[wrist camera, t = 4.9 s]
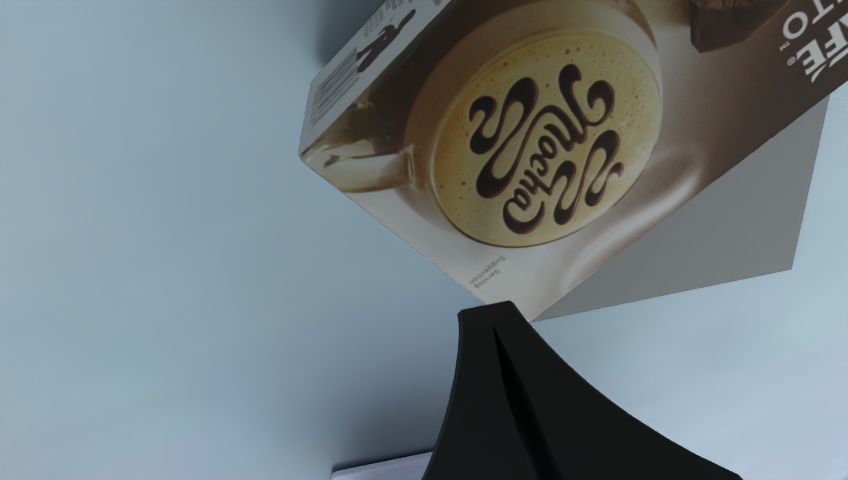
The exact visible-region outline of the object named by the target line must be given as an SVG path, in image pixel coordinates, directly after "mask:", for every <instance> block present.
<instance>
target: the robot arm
mask: <svg viewBox="0 0 848 480" xmlns="http://www.w3.org/2000/svg"><path fill="white" fill-rule="evenodd" d="M457 316H458V322H459V343H458V354H457V361H456V368H455V375H454V380H453V385H452V389H451V394H450V398H449V403H448V406H447V410H446V414H445V417H444V421H443V424H442V427H441V430H440V433H439V436H438V439H437V442H436V445H435V447H434V450H433V452H428V453H423V454H418V455H413V456H408V457H403V458H398V459H393V460H389V461H384V462H379V463H374V464H369V465H364V466H359V467H354V468H349V469H344V470H339V471H336V472H334V473H333V474H332V475H331V480H743V479H742V478H741V477H740V476H739V475H738V474H736V473H734V472H732V471H729V470H727V469H725V468H723V467H721V466H719V465H717V464H715V463H713V462H711V461H709V460H707V459H705V458H702V457H700V456H698V455H696V454H694V453H692V452H691V451H689V450H687V449H685V448H684V447H682V446H680V445H678V444H676V443H675V442H673V441H671V440H669V439H668V438H666V437H664V436H663V435H661V434H660V433H658V432H657V431H655V430H653V429H652V428H650V427H649V426H647V425H645V424H644V423H642V422H641V421H639V420H638V419H636V418H634V417H633V416H631V415H630V414H629V413H627V412H626V411H624V410H623V409H622V408H620V407H619V406H617V405H616V404H615V403H613V402H612V401H611V400H609V399H608V398H607V397H605V396H604V395H603V394H602V393H600V392H599V391H598V390H597V389H595V388H594V387H593V386H592V385H590V384H589V383H588V382H587V381H586V380H585V379H583V378H582V377H581V376H580V375H579V374H578V373H577V372H576V371H575V370H573V369H572V368H571V367H570V366H569V365H568V364H567V363H566V362H565V361H564V360H563V359H562V358H561V357H560V356H559V355H558V354H557V353H556V352H555V351H554V350H553V349H552V348H551V347H550V346H549V345H548V344H547V343H546V342H545V341H544V340H543V339H542V337H541V336H540V335H539V334H538V333H537V332H536V331H535V330H534V328H533V327H532V326H531V325H530V324H529V322H528V321H527V320H526V319H525V318H524V316H523V315H522V314H521V312H520V311H519V310H518V308H517V307H516V305H515V304H514V303H513V302H512V301H510V300H507V301H503V302H498V303H493V304H488V305H483V306H478V307H474V308H469V309H464V310H461V311H460V312H459V313H458V314H457Z"/></svg>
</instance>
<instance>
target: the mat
mask: <svg viewBox="0 0 848 480" xmlns="http://www.w3.org/2000/svg"><path fill="white" fill-rule="evenodd" d="M829 96H830V94H829V95H828V96H827V97H825V98H824V99H823V100H821V101H820V102H819V103H817V104H816V105H815V106H813V107H812V108H811V109H809V110H808V111H807V112H805V113H804V114H803V115H802V116H800V117H799V118H798V119H796V120H795V121H794V122H792V123H791V124H790V125H789V126H788V127H787V128H785V129H784V130H782V131H781V132H779V133H778V134H777V135H776V136H774V137H773V138H771V139H769V140H768V141H767V142H766V143H764V144H763V145H762V146H761V147H760V148H759V149H757V150H756V151H755V152H753V153H752V154H750V155H749V156H748V157H746V158H745V159H744V160H743V161H741V162H740V163H739V164H737V165H736V166H735V167H733V168H732V169H731V170H729V171H728V172H727V173H725V174H724V175H723V176H721V177H720V178H719V179H717V180H716V181H714V182H713V183H711V184H710V185H709V186H707V187H706V188H705V189H704V190H702V191H701V192H700V193H699V194H697V195H696V196H695V197H693V198H692V199H691V200H689V201H688V202H687V203H685V204H684V205H683V206H682V207H680V208H679V209H678V210H676V211H675V212H674V213H672V214H671V215H670V216H668V217H667V218H666V219H664V220H663V221H662V222H661V223H659V224H658V225H657V226H655V227H654V228H653V229H652V230H650V231H649V232H647V233H646V234H644V235H643V236H642V237H641V238H639V239H638V240H637V241H636V242H634V243H633V244H632V245H630V246H629V247H628V248H627V249H625V250H624V251H622V252H621V253H620V254H618V255H617V256H616V257H614V258H613V259H611V260H610V261H609V262H608V263H606V264H605V265H604V266H602V267H601V268H600V269H598V270H597V271H596V272H594V273H593V274H592V275H590V276H589V277H588V278H587V279H585V280H584V281H583V282H581V283H580V284H579V285H577V286H576V287H575V288H573V289H572V290H571V291H569V292H568V293H567V294H566V295H564V296H563V297H562V298H560V299H559V300H558V301H556V302H555V303H554V304H553V305H551V306H550V307H548V308H547V309H546V310H544V311H543V312H542V313H541V314H539V315H538V316H537V317H536V318H534V319H533V320H532V321H531V322H536V321H540V320H545V319H550V318H555V317H560V316H565V315H570V314H575V313H580V312H585V311H590V310H594V309H599V308H604V307H609V306H614V305H619V304H624V303H629V302H634V301H639V300H643V299H648V298H653V297H658V296H663V295H668V294H673V293H678V292H683V291H688V290H693V289H697V288H702V287H707V286H712V285H717V284H722V283H727V282H732V281H737V280H742V279H747V278H751V277H756V276H761V275H766V274H771V273H776V272H781V271H786V270H791V269H792V264H793V260H794V255H795V251H796V246H797V242H798V237H799V233H800V228H801V224H802V219H803V215H804V210H805V205H806V201H807V196H808V192H809V187H810V183H811V178H812V174H813V169H814V165H815V160H816V155H817V151H818V146H819V142H820V137H821V133H822V128H823V124H824V119H825V115H826V110H827V106H828V101H829ZM531 322H529V323H531Z"/></svg>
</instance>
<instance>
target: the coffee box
mask: <svg viewBox="0 0 848 480" xmlns="http://www.w3.org/2000/svg"><path fill="white" fill-rule="evenodd" d="M846 81H848V0H386V1H385V3H384V4H383V5H382V6H381V7H380V8H379V9H378V10H377V11H376V12H375V13H374V15H373V16H372V17H371V18H370V19H369V20H368V21H367V22H366V23H365V24H364V25H363V27H362V28H361V29H360V30H359V31H358V32H357V33H356V34H355V35H354V36H353V37H352V38H351V39H350V40H349V41H348V42H347V43H346V44H345V46H344V47H343V48H342V49H341V50H340V51H339V52H338V53H337V54H336V55H335V56H334V57H333V58H332V60H331V61H330V62H329V63H328V64H327V65H326V66H325V67H324V68H323V69H322V70H321V71H320V72H319V74H318V75H317V76H316V77H315V78H314V79H313V81H312V82H311V85H310V90H309V95H308V101H307V106H306V111H305V116H304V121H303V128H302V132H301V137H300V143H299V148H298V155H299V157H300V158H301V160H302V161H303V162H304V163H305V164H306V165H307V166H308V167H310V168H311V169H312V170H314V171H315V172H316V173H317V174H319V175H320V176H321V177H323V178H324V179H325V180H327V181H328V182H329V183H331V184H332V185H333V186H334V187H336V188H337V189H338V190H340V191H341V192H342V193H343V194H345V195H346V196H347V197H349V198H350V199H351V200H352V201H354V202H355V203H356V204H357V205H359V206H360V207H361V208H363V209H364V210H365V211H366V212H368V213H369V214H370V215H372V216H373V217H374V218H375V219H377V220H378V221H379V222H381V223H382V224H383V225H384V226H386V227H387V228H388V229H390V230H391V231H392V232H393V233H395V234H396V235H397V236H399V237H400V238H401V239H403V240H404V241H405V242H406V243H408V244H409V245H410V246H412V247H413V248H414V249H416V250H417V251H418V252H419V253H421V254H422V255H423V256H424V257H426V258H427V259H428V260H430V261H431V262H432V263H433V264H435V265H436V266H437V267H438V268H440V269H441V270H442V271H444V272H445V273H446V274H447V275H449V276H450V277H451V278H452V279H454V280H455V281H456V282H457V283H459V284H460V285H461V286H463V287H464V288H465V289H466V290H468V291H469V292H470V293H471V294H473V295H474V296H475V297H476V298H478V299H479V300H480V301H482V302H483V303H484V304H485V305H488V304H493V303H498V302H503V301H507V300H510V301H512V302H513V303H514V304H515V305H516V307H517V308H518V310H519V311H520V312H521V314H522V315H523V316H524V318H525V319H526V320H527V321H528V322H531V321H532V320H533V319H534V318H536V317H537V316H538V315H539V314H541V313H542V312H543V311H544V310H546V309H547V308H548V307H550V306H551V305H553V304H554V303H555V302H556V301H558V300H559V299H560V298H562V297H563V296H564V295H566V294H567V293H568V292H569V291H571V290H572V289H573V288H575V287H576V286H577V285H579V284H580V283H581V282H583V281H584V280H585V279H587V278H588V277H589V276H590V275H592V274H593V273H594V272H596V271H597V270H598V269H600V268H601V267H602V266H604V265H605V264H606V263H608V262H609V261H610V260H611V259H613V258H614V257H616V256H617V255H618V254H620V253H621V252H622V251H624V250H625V249H627V248H628V247H629V246H630V245H632V244H633V243H634V242H636V241H637V240H638V239H639V238H641V237H642V236H643V235H644V234H646V233H647V232H649V231H650V230H652V229H653V228H654V227H655V226H657V225H658V224H659V223H661V222H662V221H663V220H664V219H666V218H667V217H668V216H670V215H671V214H672V213H674V212H675V211H676V210H678V209H679V208H680V207H682V206H683V205H684V204H685V203H687V202H688V201H689V200H691V199H692V198H693V197H695V196H696V195H697V194H699V193H700V192H701V191H702V190H704V189H705V188H706V187H707V186H709V185H710V184H711V183H713V182H714V181H716V180H717V179H719V178H720V177H721V176H723V175H724V174H725V173H727V172H728V171H729V170H731V169H732V168H733V167H735V166H736V165H737V164H739V163H740V162H741V161H743V160H744V159H745V158H746V157H748V156H749V155H750V154H752V153H753V152H755V151H756V150H757V149H759V148H760V147H761V146H762V145H763V144H764V143H766V142H767V141H768V140H769V139H771V138H773V137H774V136H776V135H777V134H778V133H779V132H781V131H782V130H784V129H785V128H787V127H788V126H789V125H790V124H791V123H792V122H794V121H795V120H796V119H798V118H799V117H800V116H802V115H803V114H804V113H805V112H807V111H808V110H809V109H811V108H812V107H813V106H815V105H816V104H817V103H819V102H820V101H821V100H823V99H824V98H825V97H827V96H828V95H829V94H830V93H832V92H833V91H834V90H836V89H837V88H838V87H840V86H841V85H842V84H844V83H845V82H846Z"/></svg>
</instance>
